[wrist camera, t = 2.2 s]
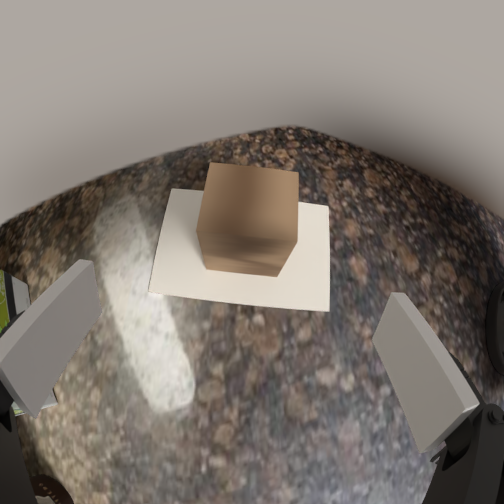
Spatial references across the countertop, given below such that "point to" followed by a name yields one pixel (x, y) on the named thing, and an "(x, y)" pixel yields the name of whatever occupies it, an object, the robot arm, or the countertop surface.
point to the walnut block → (248, 219)
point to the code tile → (236, 284)
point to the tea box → (9, 305)
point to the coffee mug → (49, 491)
